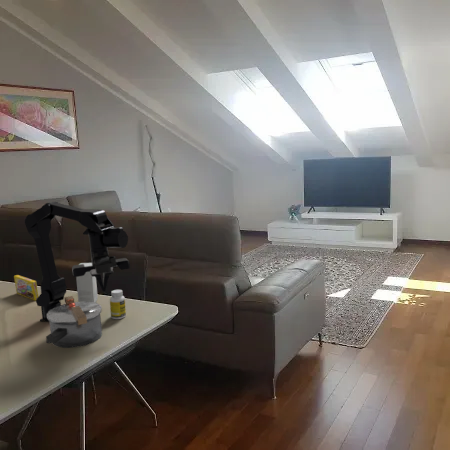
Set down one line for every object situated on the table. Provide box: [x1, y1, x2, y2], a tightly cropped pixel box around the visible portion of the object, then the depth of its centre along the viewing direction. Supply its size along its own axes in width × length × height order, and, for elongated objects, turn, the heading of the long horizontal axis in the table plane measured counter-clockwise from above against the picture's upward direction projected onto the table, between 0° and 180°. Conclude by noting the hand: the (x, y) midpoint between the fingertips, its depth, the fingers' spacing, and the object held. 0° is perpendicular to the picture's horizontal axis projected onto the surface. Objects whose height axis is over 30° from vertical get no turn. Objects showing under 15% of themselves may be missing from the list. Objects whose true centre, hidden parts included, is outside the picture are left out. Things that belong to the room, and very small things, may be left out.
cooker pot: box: [45, 313, 103, 349], centre depth 153 cm, size 16×26×8 cm, turn 168°
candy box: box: [13, 274, 40, 302], centre depth 198 cm, size 16×2×8 cm, turn 50°
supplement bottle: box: [109, 289, 127, 320], centre depth 171 cm, size 5×5×10 cm
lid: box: [47, 295, 103, 325], centre depth 152 cm, size 24×17×3 cm
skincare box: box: [75, 262, 98, 303], centre depth 187 cm, size 8×7×16 cm
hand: (103, 291), depth 161 cm, fingers closed
